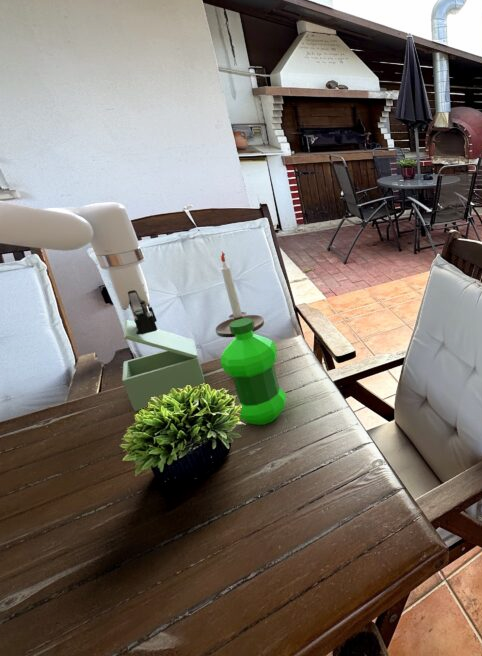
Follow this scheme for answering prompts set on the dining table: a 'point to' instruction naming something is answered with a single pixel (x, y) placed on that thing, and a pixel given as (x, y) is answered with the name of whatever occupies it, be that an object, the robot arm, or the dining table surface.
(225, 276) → the candlestick
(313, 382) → the dining table surface
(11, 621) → the dining table surface
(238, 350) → the plastic bottle
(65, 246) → the robot arm
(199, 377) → the chest
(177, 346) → the lid
